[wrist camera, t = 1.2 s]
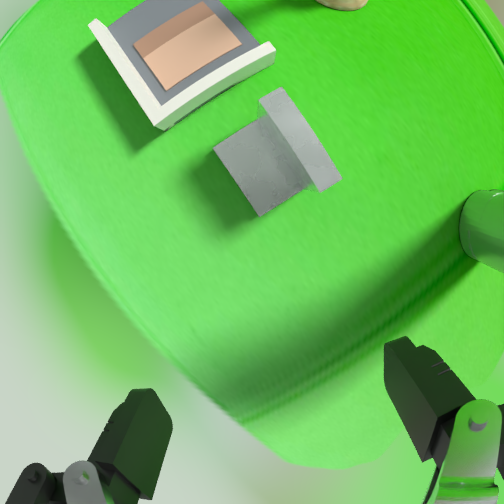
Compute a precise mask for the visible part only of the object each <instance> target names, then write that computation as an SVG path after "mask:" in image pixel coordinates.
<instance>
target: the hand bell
mask: <svg viewBox="0 0 504 504" xmlns="http://www.w3.org/2000/svg"><path fill="white" fill-rule="evenodd" d="M316 1H317V2H319V3H321V4H323V5H325V6H327V7H330V8H333V9H337V10H344V11H352V10H357V9H360V8H362V7H363V6H365V4H366V3H367V1H368V0H316Z"/></svg>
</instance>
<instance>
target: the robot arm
mask: <svg viewBox="0 0 504 504" xmlns="http://www.w3.org/2000/svg"><path fill="white" fill-rule="evenodd" d="M459 233H460V240H461V244H462V247H463V249H464V251H465V252H466V254H467V255H468V256H470V257H471V258H473V259H475V260H478V261H480V262H482V263H484V264H486V265H488V266H490V267H492V268H494V269H496V270H498V271H500V272H502V273H504V191H503V190H497V189H492V190H491V191H487V190H478V191H476V192H474V193H473V194H472V195H471V196H470V197H469V198H468V199H467V201H466V203H465V205H464V207H463V210H462V213H461V218H460V225H459ZM384 383H385V387H386V390H387V393H388V395H389V397H390V399H391V400H392V402H393V404H394V406H395V408H396V410H397V412H398V414H399V416H400V418H401V420H402V422H403V424H404V426H405V428H406V430H407V432H408V434H409V436H410V438H411V440H412V442H413V444H414V446H415V448H416V450H417V452H418V455H419V457H420V459H421V461H422V462H424V461H426V460H428V459H431V458H433V459H434V461H435V463H436V466H435V469H434V472H433V475H432V478H431V481H430V483H429V486H428V488H427V491H426V494H425V496H424V499H423V501H422V504H496V503H497V499H498V493H499V489H498V486H497V485H495V484H494V477H495V472H496V468H498V470H499V472H500V474H501V476H502V478H503V479H504V404H502V405H498V406H497V405H496V404H494V403H493V402H491V401H488V400H483V399H479V400H476V399H475V397H474V396H473V395H472V394H471V393H470V391H469V390H468V389H467V388H466V386H465V385H464V384H463V383H462V382H461V380H460V379H459V378H458V377H457V376H456V374H455V373H454V372H453V371H452V370H450V367H449V366H448V365H447V364H446V363H445V362H444V361H443V359H442V358H441V357H440V356H439V355H438V354H437V352H436V351H434V350H432V349H430V348H428V347H426V346H424V345H422V346H419V347H417V348H416V346H415V345H414V344H413V343H412V342H411V340H410V339H409V338H408V337H407V336H404V337H401V338H398V339H396V340H393V341H390V342H387V343H385V345H384ZM172 427H173V426H172V420H171V417H170V415H169V414H168V412H167V411H166V409H165V407H164V406H163V404H162V402H161V401H160V399H159V397H158V396H157V394H156V392H155V391H154V390H153V389H151V388H148V389H132V390H131V391H130V392H129V394H128V396H127V398H126V400H125V402H123V403H122V404H120V405H119V406H118V408H117V409H115V410H114V411H113V413H112V415H111V417H110V419H109V420H108V423H107V424H106V426H105V428H104V431H103V432H102V433H101V435H100V437H99V439H98V441H97V443H96V445H95V447H94V449H93V450H92V453H91V455H90V456H89V458H88V460H87V461H78V462H75V463H73V464H71V465H70V466H69V467H68V468H67V469H66V471H65V472H61V473H51V472H50V471H49V470H47V468H46V467H44V465H42V464H40V463H32V464H30V465H29V466H27V467H26V468H25V469H24V470H23V472H22V473H21V475H20V477H19V479H18V480H17V482H16V484H15V486H14V488H13V490H12V492H11V493H10V496H9V497H8V499H7V501H6V503H5V504H137V503H138V500H139V498H141V499H147V500H152V497H153V494H154V491H155V487H156V484H157V480H158V477H159V474H160V470H161V467H162V463H163V460H164V457H165V453H166V450H167V447H168V444H169V440H170V437H171V434H172V429H173V428H172Z"/></svg>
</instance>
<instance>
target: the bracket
mask: <svg viewBox="0 0 504 504" xmlns="http://www.w3.org/2000/svg"><path fill="white" fill-rule="evenodd" d="M213 149H214V151H215V152H216V154H217V155H218V156H219V158H220V159H221V161H222V162H223V164H224V165H225V167H226V168H227V170H228V171H229V173H230V174H231V176H232V177H233V178H234V180H235V181H236V183H237V184H238V186H239V187H240V189H241V190H242V192H243V193H244V195H245V196H246V198H247V199H248V201H249V202H250V204H251V205H252V207H253V208H254V210H255V211H256V213H257V214H258V216H259V217H260V216H262V215H264V214H265V213H267V212H268V211H270V210H271V209H273V208H274V207H276V206H278V205H279V204H281V203H282V202H284V201H285V200H287V199H289V198H290V197H292V196H293V195H295V194H297V193H298V192H300V191H301V190H303V189H305V190H310V191H314V192H318V193H321V192H322V191H324V190H326V189H327V188H329V187H330V186H332V185H334V184H335V183H337V182H338V181H340V180H342V177H341V175H340V173H339V172H338V170H337V168H336V167H335V165H334V163H333V162H332V160H331V158H330V157H329V155H328V154H327V152H326V150H325V149H324V147H323V146H322V144H321V143H320V141H319V139H318V138H317V136H316V135H315V133H314V132H313V130H312V129H311V127H310V126H309V124H308V123H307V121H306V120H305V118H304V117H303V116H302V114H301V113H300V111H299V110H298V108H297V107H296V106H295V104H294V103H293V101H292V100H291V99H290V97H289V96H288V94H287V93H286V92H285V90H284V89H283V88H282V87H280V88H278V89H276V90H275V91H273V92H271V93H269V94H268V95H266V96H264V97H262V98H261V99H259V100H258V113H257V120H255V121H254V122H252V123H251V124H249V125H247V126H246V127H244V128H242V129H241V130H239V131H238V132H236V133H235V134H233V135H231V136H230V137H228V138H227V139H225V140H224V141H222V142H221V143H219V144H218V145H216V146H215V147H213Z"/></svg>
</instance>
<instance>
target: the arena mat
mask: <svg viewBox="0 0 504 504" xmlns="http://www.w3.org/2000/svg"><path fill="white" fill-rule="evenodd" d="M107 28H108V30H109V31H110V33H111V34H112V36H113V37H114V38H115V40H116V41H117V43H118V44H119V46H120V47H121V48H122V50H123V51H124V53H125V54H126V56H127V57H128V58H129V60H130V61H131V63H132V64H133V66H134V67H135V69H136V70H137V71H138V73H139V74H140V76H141V77H142V79H143V80H144V82H145V83H146V84H147V86H148V87H149V89H150V90H151V92H152V93H153V95H154V96H155V97H156V99H157V100H158V102H159V103H160V105H161V106H162V105H164V104H165V103H166V102H168V101H169V100H170V99H172V98H173V97H175V96H176V95H178V94H179V93H180V92H182V91H183V90H185V89H186V88H188V87H189V86H191V85H192V84H194V83H195V82H197V81H198V80H200V79H202V78H203V77H205V76H206V75H208V74H210V73H211V72H213V71H214V70H216V69H218V68H219V67H221V66H223V65H225V64H226V63H228V62H230V61H232V60H233V59H235V58H237V57H239V56H241V55H243V54H244V53H246V52H248V51H250V50H252V49H254V48H256V47H258V46H260V44H259V43H258V42H257V41H256V39H255V38H254V37H253V36H252V35H251V34H250V33H249V32H248V30H247V29H246V28H245V27H244V26H243V25H242V24H241V23H240V22H239V21H238V20H237V18H236V17H235V16H234V15H233V14H232V13H231V12H230V11H229V10H228V9H227V8H226V7H225V6H224V5H223V4H222V3H221V2H220V1H219V0H146V1H144V2H142V3H141V4H139V5H138V6H136V7H135V8H133V9H132V10H130V11H129V12H128V13H126V14H125V15H123V16H122V17H121V18H119V19H118V20H116V21H115V22H114V23H112V24H111V25H110V26H109V27H107ZM240 82H241V81H240ZM236 83H239V82H236ZM234 84H235V83H234ZM234 84H233V85H231V86H229V87H228V88H226V89H224V90H223V91H221V92H220V93H218V94H216V95H215V96H213V97H212V98H210V99H209V100H207V101H205V102H204V103H202V104H201V105H199V106H198V107H196V108H195V109H193V110H192V111H191V112H189V113H188V114H186V115H185V116H183V117H182V118H181V119H179V120H178V121H176V122H175V123H174V124H177V123H178V122H179V121H181V120H182V119H184V118H185V117H187V116H188V115H189V114H191V113H192V112H194V111H195V110H197V109H198V108H200V107H201V106H203V105H204V104H206V103H207V102H209V101H210V100H212V99H213V98H215V97H217V96H218V95H220V94H221V93H223V92H225V91H226V90H228V89H230V88H231V87H233V86H235V85H236V84H235V85H234ZM170 127H171V126H170ZM170 127H168V128H170ZM168 128H167V129H166V130H164V131H165V132H166V131H167V130H168Z"/></svg>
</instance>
